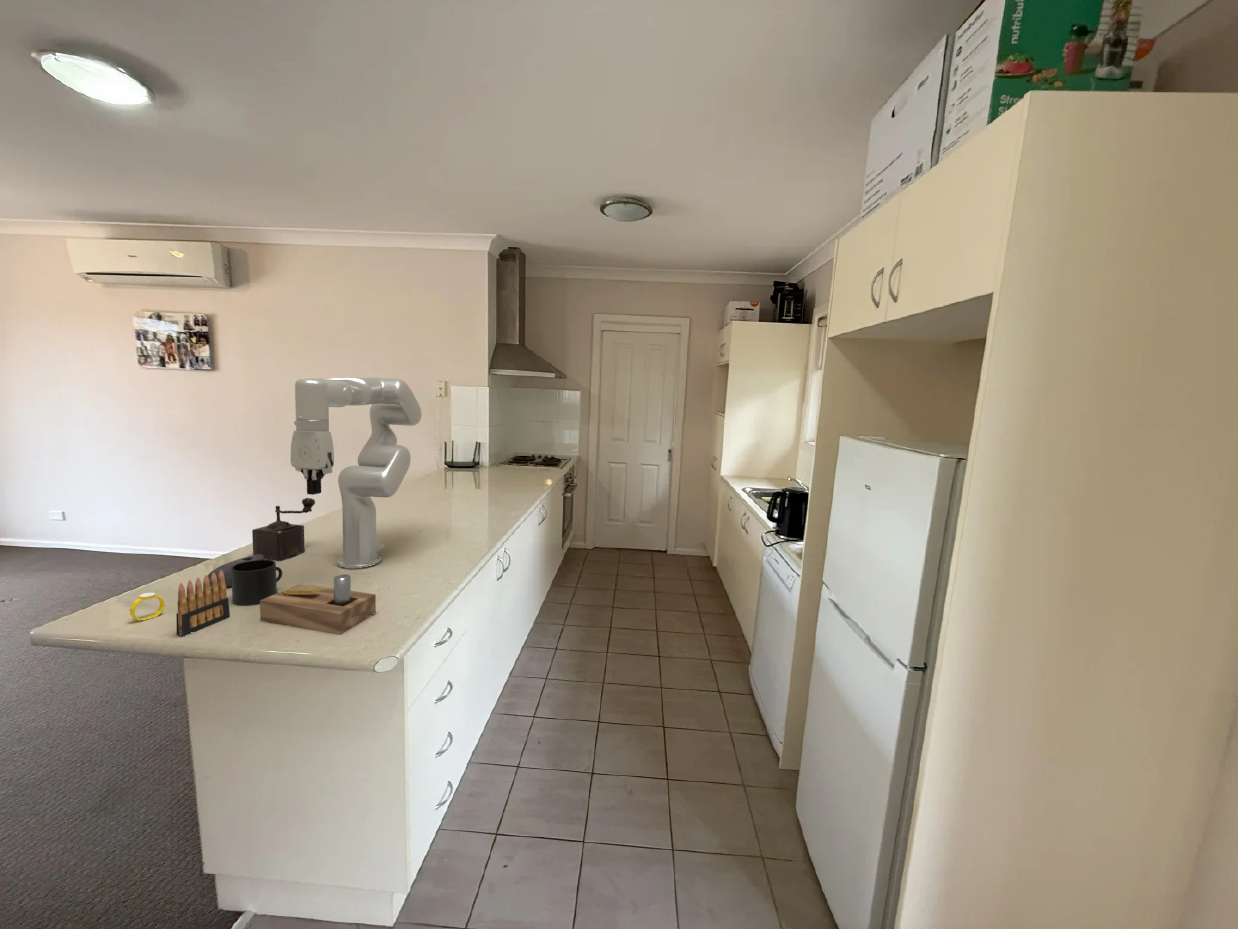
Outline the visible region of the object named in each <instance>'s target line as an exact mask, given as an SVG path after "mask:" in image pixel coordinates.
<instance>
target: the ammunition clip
mask: <svg viewBox="0 0 1238 929" xmlns="http://www.w3.org/2000/svg"><path fill="white" fill-rule="evenodd" d="M194 584H195V585H194ZM194 584H193V582H192V580H190V579H189V580H188V582H187V585H186V589H185V585H184V584H183V583H182V582H180V584H179V585H178V591H177V594H178V596H177V612H176V636H177V635H178V636H177V637H181V636H182V637H183V636H184V637H186V636H185V635H187V634H189V635H191V634H192V633H191V632H194V633H197V632H199V631H200V630H203V629H206V628H207V627H210V626H212V625H215V624H218V623H220V622H221V621H225V620H227V619H229V618H230V617H231V613H230V602H229V601H230V600H229V597H228V596H227V587H226V585H225V578H224V574H223V571H222V570H220V572H219V576H218V584H217V577H216V574H215V573H214V572H213V573H212V576H211V587H210V582H209V578H208V575H207V574H205V575H204V577H203V583H202V580H201V579H200V578H199V577H196V579H195V583H194ZM194 587H195V588H194ZM205 627H206V628H205ZM198 630H199V631H198ZM190 633H191V634H190ZM187 636H188V635H187ZM182 637H181V638H182ZM184 637H183V638H184Z"/></svg>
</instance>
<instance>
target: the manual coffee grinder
mask: <svg viewBox="0 0 1238 929" xmlns="http://www.w3.org/2000/svg"><path fill="white" fill-rule="evenodd" d="M301 504H302V505H303V508H302V510H281V506H280V505H275V513H276V520H275V521H273V522H271V523H269V524H267V526H262V527H258V528H255V529H252V531H251V532H252V536H251V538H252V556H254V555H258V554H262V555H263V556H264V560H266V559H267V560H272V561H274V560H275V562H282V561H285V560H287V559H286V558H288V559H291V558H293V556H294V557H296V556H298V555H300V554H299V553H301V552H303V553H304V552H306V549H305V548H306V545H305V526H304V525H303V524H294V523H290V522H289V521H284V520H281V514H303V513H305V514H307V513H310V512H313V510H312V508H313V506H315V505H316V501H315V499H314V498H310V497H305V498H303V499H302V500H301ZM297 554H298V555H297ZM301 554H302V553H301ZM284 559H285V560H284ZM281 560H282V561H281Z"/></svg>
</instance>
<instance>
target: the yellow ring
mask: <svg viewBox="0 0 1238 929" xmlns="http://www.w3.org/2000/svg"><path fill="white" fill-rule="evenodd" d="M154 598H156V599H157V600H159V606H158V609H157V610H156V611H155V612H154V613H153V614H151V615H147V616H145V617H141V618H140V617H137V615H136V608H137V607H138V604H139V603H141V602H142V601H144V600H150V599H154ZM165 605H166V604H165V600H164V598H162V597H161V596H159V595H157V594H156V593H155V592H145V593H141V594H140V595H138V598H137V599H134V601H133V602H132V604H131V606H129V607H130V608H129V615H130V616H131V618H132V619H133V620H135V621H139V622H142V621H141V620H142V619H148V620H150V618H151V619H154V617H155V618H157V616H158V617H159V616H160V615H161V614H162V613H163V612H164V609H165Z"/></svg>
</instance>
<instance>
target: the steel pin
mask: <svg viewBox="0 0 1238 929" xmlns="http://www.w3.org/2000/svg"><path fill="white" fill-rule="evenodd" d="M351 583H352V582H351V575H349V574H339V575H335V576H334V577H333V588H334V605H337V606H346V605H348V604H349V603H351V591H352V588H351V587H352V585H351Z"/></svg>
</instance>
